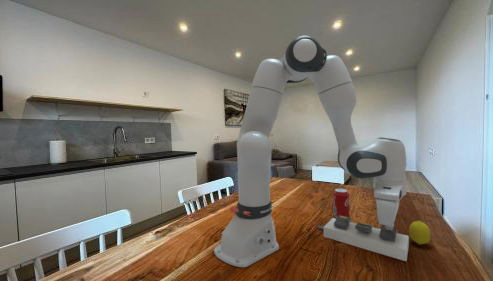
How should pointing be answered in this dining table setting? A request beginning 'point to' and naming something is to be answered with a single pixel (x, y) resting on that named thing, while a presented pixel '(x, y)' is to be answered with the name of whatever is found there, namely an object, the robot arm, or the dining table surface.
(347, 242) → the rocker switch panel
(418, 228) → the lemon
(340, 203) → the beverage can
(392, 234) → the rocker
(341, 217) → the rocker
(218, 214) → the dining table surface
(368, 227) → the rocker
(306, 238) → the dining table surface
